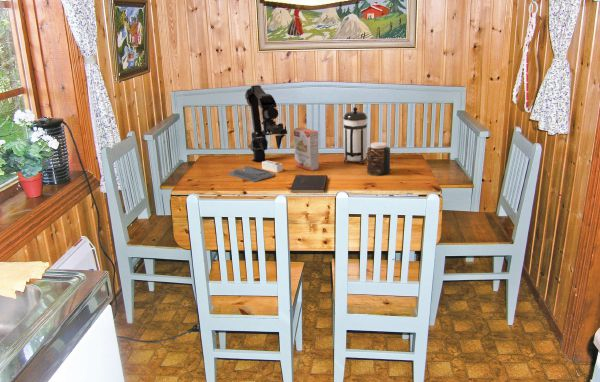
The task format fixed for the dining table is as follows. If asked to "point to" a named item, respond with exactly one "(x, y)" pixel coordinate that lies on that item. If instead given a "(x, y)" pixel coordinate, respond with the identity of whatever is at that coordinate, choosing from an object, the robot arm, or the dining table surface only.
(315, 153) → the cracker box
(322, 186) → the hardcover book
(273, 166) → the white rectangular block
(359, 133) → the coffee press
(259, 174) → the mount plate
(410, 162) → the dining table surface
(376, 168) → the jar
